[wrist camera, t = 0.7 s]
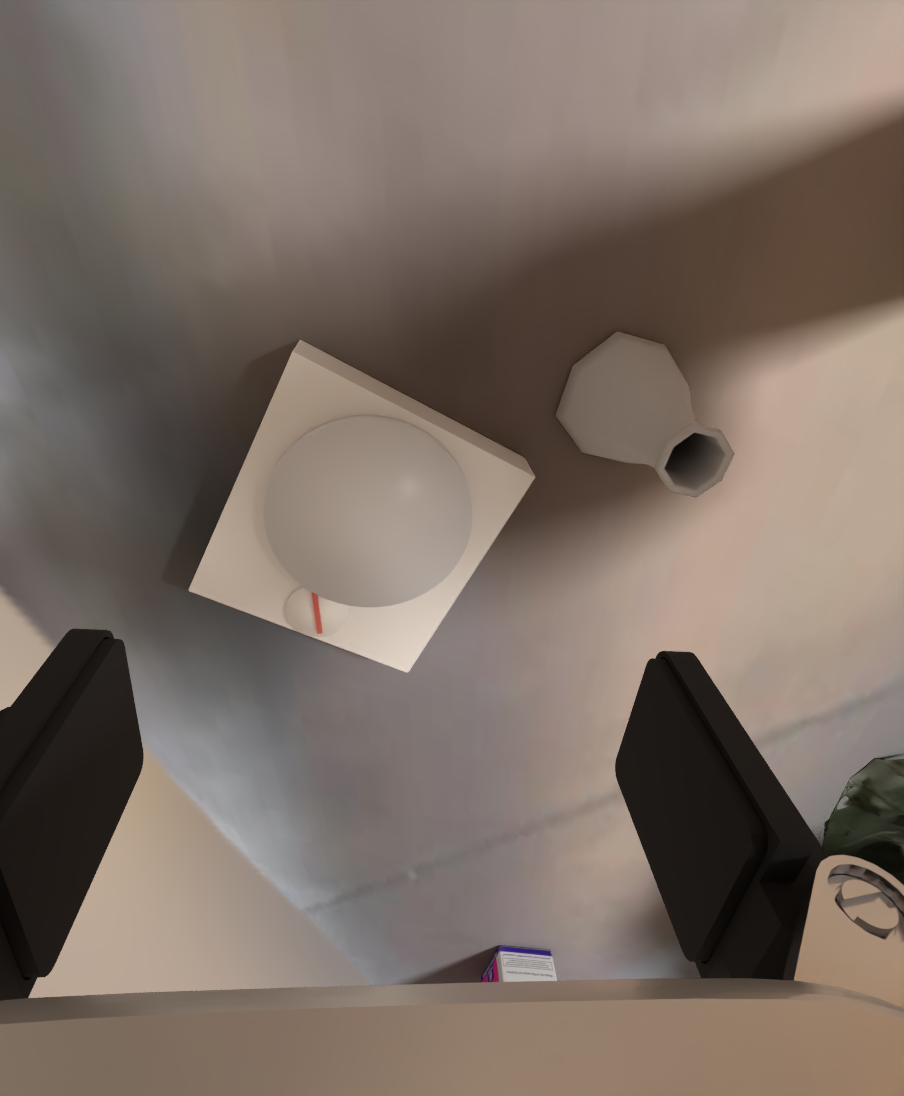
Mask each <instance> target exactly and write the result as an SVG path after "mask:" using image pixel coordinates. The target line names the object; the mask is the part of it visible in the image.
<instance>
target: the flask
mask: <svg viewBox="0 0 904 1096" xmlns="http://www.w3.org/2000/svg"><path fill="white" fill-rule="evenodd" d="M555 416H556V417H557V419H558V420H559V421H560V423H561V424H562V426H563V427H564V428H565V430H566V431H567V432H568V434H569V435H570V437H571V438H572V439H573V441H574V442H575V444H576V445H577V446H578V448H579V449H580V451H581V452H582V453H587V454H591V455H595V456H599V457H604V458H608V459H612V460H616V461H621V462H625V463H631V464H647V465H649V466H651V467H653V468H655V470H656V472H657V473H658V475H659V476H660V478H661V479H662V481H663V482H664V484H665V485H666V487H667V488H668V490H669V491H671V492H675V493H679V494H683V495H688V496H692V497H697V496H699V495H700V494H702V493H703V492H705V491H706V490H708V489H709V488H711V487H712V486H714V485H715V484H717V483H718V482H720V481H721V480H722V478H723V476H724V474H725V472H726V470H727V468H728V466H729V464H730V462H731V460H732V458H733V456H734V452H733V450H732V449H731V447H730V445H729V443H728V442H727V440H726V438H725V436H724V435H723V433H722V432H721V431H720V430H718V429H714V428H710V427H706V426H702V425H699V424H698V423H697V422H696V420H695V416H694V412H693V408H692V402H691V395H690V389H689V385H688V383H687V382H686V380H685V378H684V377H683V375H682V373H681V371H680V370H679V368H678V366H677V365H676V363H675V361H674V359H673V358H672V356H671V354H670V353H669V351H668V349H667V347H666V346H665V345H664V344H661V343H657V342H654V341H650V340H647V339H643V338H639V337H636V336H632V335H629V334H625V333H622V332H618V331H617V332H615V333H614V334H613V335H612V336H610V337H609V338H608V339H606V340H605V341H604V342H603V343H601V344H600V345H599V346H597V347H596V348H595V349H594V350H592V351H591V352H590V353H588V354H587V355H586V356H585V357H583V358H582V359H581V360H579V361H578V362H577V363H575V364H574V365H573V366H572V369H571V372H570V375H569V378H568V381H567V383H566V386H565V389H564V392H563V395H562V398H561V401H560V404H559V406H558V409H557V412H556V415H555Z"/></svg>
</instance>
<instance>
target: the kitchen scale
mask: <svg viewBox="0 0 904 1096" xmlns="http://www.w3.org/2000/svg"><path fill="white" fill-rule="evenodd" d="M534 479H535V475H534V473H533V472H532V470H531V468H530V466H529V464H528V462H527V461H526V459H525V458H524V457H522V456H521V455H519V454H517V453H515V452H513V451H511V450H509V449H507V448H505V447H503V446H502V445H500V444H498V443H496V442H494V441H492V440H490V439H488V438H486V437H484V436H483V435H481V434H479V433H477V432H475V431H473V430H471V429H469V428H467V427H465V426H464V425H462V424H460V423H458V422H456V421H454V420H452V419H450V418H448V417H446V416H445V415H443V414H441V413H439V412H437V411H435V410H433V409H431V408H429V407H427V406H426V405H424V404H422V403H420V402H418V401H416V400H414V399H412V398H410V397H408V396H407V395H405V394H403V393H401V392H399V391H397V390H395V389H393V388H391V387H389V386H388V385H386V384H384V383H382V382H380V381H378V380H376V379H374V378H372V377H370V376H369V375H367V374H365V373H363V372H361V371H359V370H357V369H355V368H353V367H351V366H350V365H348V364H346V363H344V362H342V361H340V360H338V359H336V358H334V357H332V356H331V355H329V354H327V353H325V352H323V351H321V350H319V349H317V348H315V347H313V346H312V345H310V344H308V343H306V342H304V341H302V340H299V342H298V343H297V345H296V347H295V348H294V350H293V351H292V354H291V356H290V358H289V360H288V363H287V365H286V367H285V370H284V372H283V374H282V376H281V379H280V381H279V383H278V386H277V388H276V390H275V393H274V395H273V397H272V399H271V402H270V404H269V406H268V409H267V411H266V413H265V416H264V418H263V420H262V422H261V425H260V427H259V429H258V432H257V434H256V436H255V438H254V441H253V443H252V445H251V448H250V450H249V452H248V455H247V457H246V459H245V461H244V464H243V466H242V468H241V471H240V473H239V475H238V477H237V480H236V482H235V484H234V487H233V489H232V491H231V494H230V496H229V498H228V500H227V503H226V505H225V507H224V510H223V512H222V514H221V517H220V519H219V521H218V523H217V526H216V528H215V530H214V533H213V535H212V537H211V539H210V542H209V544H208V546H207V549H206V551H205V553H204V556H203V558H202V560H201V562H200V565H199V567H198V569H197V572H196V574H195V576H194V578H193V581H192V583H191V585H190V588H189V590H188V591H190V592H193V593H196V594H198V595H201V596H204V597H206V598H209V599H212V600H214V601H217V602H220V603H222V604H225V605H228V606H230V607H233V608H236V609H238V610H241V611H244V612H246V613H249V614H252V615H254V616H257V617H260V618H262V619H265V620H268V621H270V622H273V623H276V624H278V625H281V626H284V627H286V628H289V629H292V630H294V631H297V632H300V633H302V634H304V635H307V636H310V637H313V638H316V639H318V640H321V641H324V642H326V643H329V644H332V645H334V646H337V647H340V648H343V649H345V650H348V651H351V652H353V653H356V654H359V655H361V656H364V657H367V658H369V659H372V660H375V661H377V662H380V663H383V664H385V665H388V666H391V667H393V668H396V669H399V670H401V671H404V672H407V673H408V672H409V670H410V669H411V667H412V666H413V664H414V663H415V661H416V660H417V658H418V657H419V655H420V654H421V652H422V650H423V649H424V647H425V646H426V644H427V643H428V641H429V640H430V638H431V637H432V635H433V634H434V632H435V631H436V629H437V627H438V626H439V624H440V623H441V621H442V620H443V618H444V617H445V615H446V614H447V612H448V611H449V609H450V608H451V606H452V605H453V603H454V601H455V600H456V598H457V597H458V595H459V594H460V592H461V591H462V589H463V588H464V586H465V585H466V583H467V582H468V580H469V578H470V577H471V575H472V574H473V572H474V571H475V569H476V568H477V566H478V565H479V563H480V562H481V560H482V559H483V557H484V556H485V554H486V552H487V551H488V549H489V548H490V546H491V545H492V543H493V542H494V540H495V539H496V537H497V536H498V534H499V533H500V531H501V529H502V528H503V526H504V525H505V523H506V522H507V520H508V519H509V517H510V516H511V514H512V513H513V511H514V510H515V508H516V506H517V505H518V503H519V502H520V500H521V499H522V497H523V496H524V494H525V493H526V491H527V490H528V488H529V487H530V485H531V484H532V482H533V480H534Z"/></svg>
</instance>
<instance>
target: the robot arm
mask: <svg viewBox="0 0 904 1096" xmlns="http://www.w3.org/2000/svg"><path fill="white" fill-rule="evenodd" d="M142 765H143V747H142V742H141V736H140V730H139V725H138V719H137V714H136V708H135V702H134V697H133V691H132V685H131V680H130V674H129V668H128V663H127V657H126V651H125V646H124V643H123V641H122V640H121V639H114V637H113V634H112V633H111V631H108V630H92V629H72V630H70V631H69V632H68V633H67V634H66V635H65V636H64V637H63V639H62V640H61V641H60V643H59V644H58V645H57V647H56V648H55V649H54V650H53V652H52V653H51V654H50V656H49V657H48V658H47V660H46V661H45V662H44V664H43V665H42V666H41V668H40V669H39V670H38V671H37V673H36V674H35V675H34V677H33V678H32V679H31V681H30V682H29V683H28V685H27V686H26V687H25V689H24V690H23V691H22V693H21V694H20V695H19V696H18V698H17V699H16V700H15V702H14V703H13V704H12V706H11V707H7V708H5V709H3V710H1V711H0V1096H904V885H903V884H902V883H900V882H899V881H898V880H897V879H896V878H895V877H893V876H892V875H891V874H889V873H888V872H886V871H884V870H883V869H881V868H880V867H878V866H877V865H875V864H872V863H870V862H868V861H865V860H863V859H860V858H857V857H852V856H847V855H835V856H829V857H828V856H827V854H826V853H825V851H824V850H823V848H822V847H821V845H820V844H819V842H818V840H817V839H816V837H815V836H814V834H813V833H812V831H811V830H810V828H809V827H808V825H807V824H806V822H805V821H804V819H803V818H802V816H801V815H800V813H799V811H798V810H797V808H796V807H795V805H794V804H793V802H792V801H791V799H790V798H789V796H788V795H787V793H786V792H785V790H784V789H783V787H782V786H781V784H780V783H779V781H778V780H777V778H776V777H775V775H774V774H773V772H772V771H771V769H770V767H769V766H768V764H767V763H766V761H765V760H764V758H763V757H762V755H761V754H760V752H759V751H758V749H757V748H756V746H755V745H754V743H753V742H752V740H751V739H750V737H749V736H748V734H747V733H746V731H745V730H744V728H743V727H742V725H741V724H740V722H739V720H738V719H737V717H736V716H735V714H734V713H733V711H732V710H731V708H730V707H729V705H728V704H727V702H726V701H725V699H724V698H723V696H722V695H721V693H720V692H719V690H718V689H717V687H716V686H715V684H714V683H713V681H712V680H711V678H710V677H709V675H708V673H707V672H706V670H705V669H704V667H703V666H702V664H701V663H700V661H699V660H698V658H697V657H696V656H695V655H694V654H693V653H691V652H673V651H662V652H659V654H658V655H657V656H656V659H653V658H652V659H650V660H649V661H648V663H647V665H646V668H645V671H644V674H643V677H642V681H641V684H640V687H639V690H638V693H637V696H636V699H635V702H634V705H633V709H632V712H631V715H630V718H629V721H628V724H627V727H626V730H625V733H624V736H623V740H622V743H621V746H620V749H619V752H618V755H617V758H616V764H615V771H616V778H617V781H618V784H619V786H620V789H621V792H622V794H623V797H624V799H625V802H626V805H627V807H628V810H629V812H630V815H631V818H632V820H633V823H634V826H635V828H636V831H637V833H638V836H639V839H640V841H641V844H642V847H643V849H644V852H645V854H646V857H647V860H648V862H649V865H650V867H651V870H652V873H653V875H654V878H655V881H656V883H657V886H658V888H659V891H660V894H661V896H662V899H663V902H664V904H665V907H666V909H667V912H668V915H669V917H670V920H671V922H672V925H673V928H674V930H675V933H676V936H677V938H678V941H679V943H680V946H681V949H682V951H683V953H684V955H685V957H686V958H687V959H688V960H689V961H695V963H696V965H697V968H698V971H699V973H700V976H701V978H697V979H615V980H568V981H522V982H481V983H443V984H406V985H370V986H339V987H338V986H336V987H335V986H334V987H302V988H270V989H239V990H209V991H179V992H149V993H126V994H125V993H124V994H106V995H86V996H66V997H45V998H28V997H29V995H30V992H31V990H32V988H33V986H34V984H35V981H36V979H37V977H46V976H47V975H48V974H49V973H50V972H51V970H52V969H53V967H54V965H55V963H56V961H57V959H58V956H59V954H60V952H61V950H62V947H63V945H64V943H65V940H66V938H67V936H68V934H69V932H70V929H71V927H72V925H73V923H74V920H75V918H76V916H77V914H78V912H79V909H80V907H81V905H82V903H83V900H84V898H85V896H86V894H87V891H88V889H89V887H90V885H91V882H92V880H93V878H94V876H95V874H96V871H97V869H98V867H99V864H100V862H101V860H102V858H103V856H104V853H105V851H106V849H107V847H108V845H109V842H110V840H111V838H112V836H113V833H114V831H115V829H116V827H117V824H118V822H119V820H120V818H121V815H122V813H123V811H124V809H125V806H126V804H127V802H128V800H129V797H130V795H131V793H132V791H133V789H134V786H135V784H136V782H137V780H138V777H139V775H140V772H141V769H142Z"/></svg>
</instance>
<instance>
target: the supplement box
mask: <svg viewBox="0 0 904 1096" xmlns="http://www.w3.org/2000/svg"><path fill="white" fill-rule="evenodd" d="M481 981H482V982H522V981H557V979H556V974H555V968H554V963H553V958H552V951H551V950H545V949H532V948H520V947H510V946H499V947H498V949H497V951H496V954H495V955H494V957H493V959H492V961H491V963H490V964H489V966H488V968H487V969H486V971H485V972H484V974H483V975H482V977H481Z"/></svg>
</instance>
